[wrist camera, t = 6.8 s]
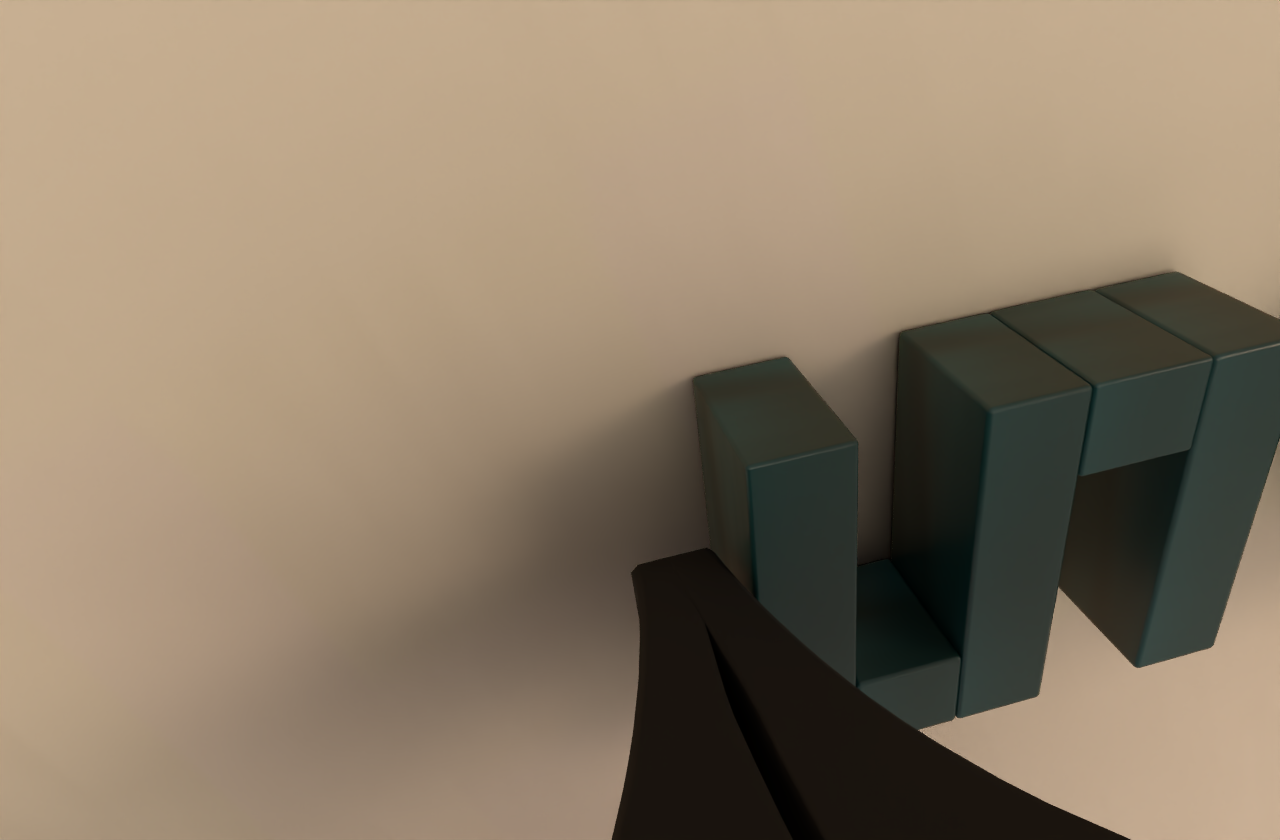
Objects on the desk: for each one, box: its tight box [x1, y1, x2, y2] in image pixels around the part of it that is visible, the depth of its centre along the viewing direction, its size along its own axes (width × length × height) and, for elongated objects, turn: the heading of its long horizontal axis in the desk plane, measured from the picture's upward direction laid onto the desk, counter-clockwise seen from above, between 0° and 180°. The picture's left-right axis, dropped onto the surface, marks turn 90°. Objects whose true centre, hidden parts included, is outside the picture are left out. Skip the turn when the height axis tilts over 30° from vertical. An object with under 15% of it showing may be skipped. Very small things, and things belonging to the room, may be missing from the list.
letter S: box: [693, 272, 1280, 730], centre depth 14 cm, size 8×6×2 cm
